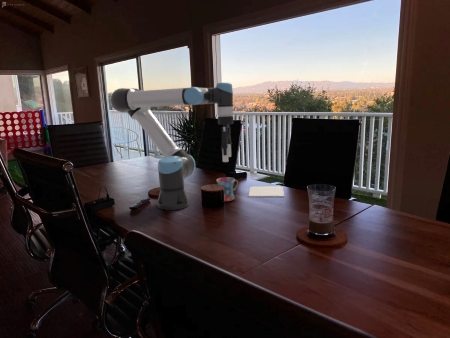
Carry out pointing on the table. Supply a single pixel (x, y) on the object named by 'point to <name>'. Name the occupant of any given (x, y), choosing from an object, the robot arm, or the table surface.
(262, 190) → the placemat
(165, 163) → the robot arm
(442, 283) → the table surface
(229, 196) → the mug
